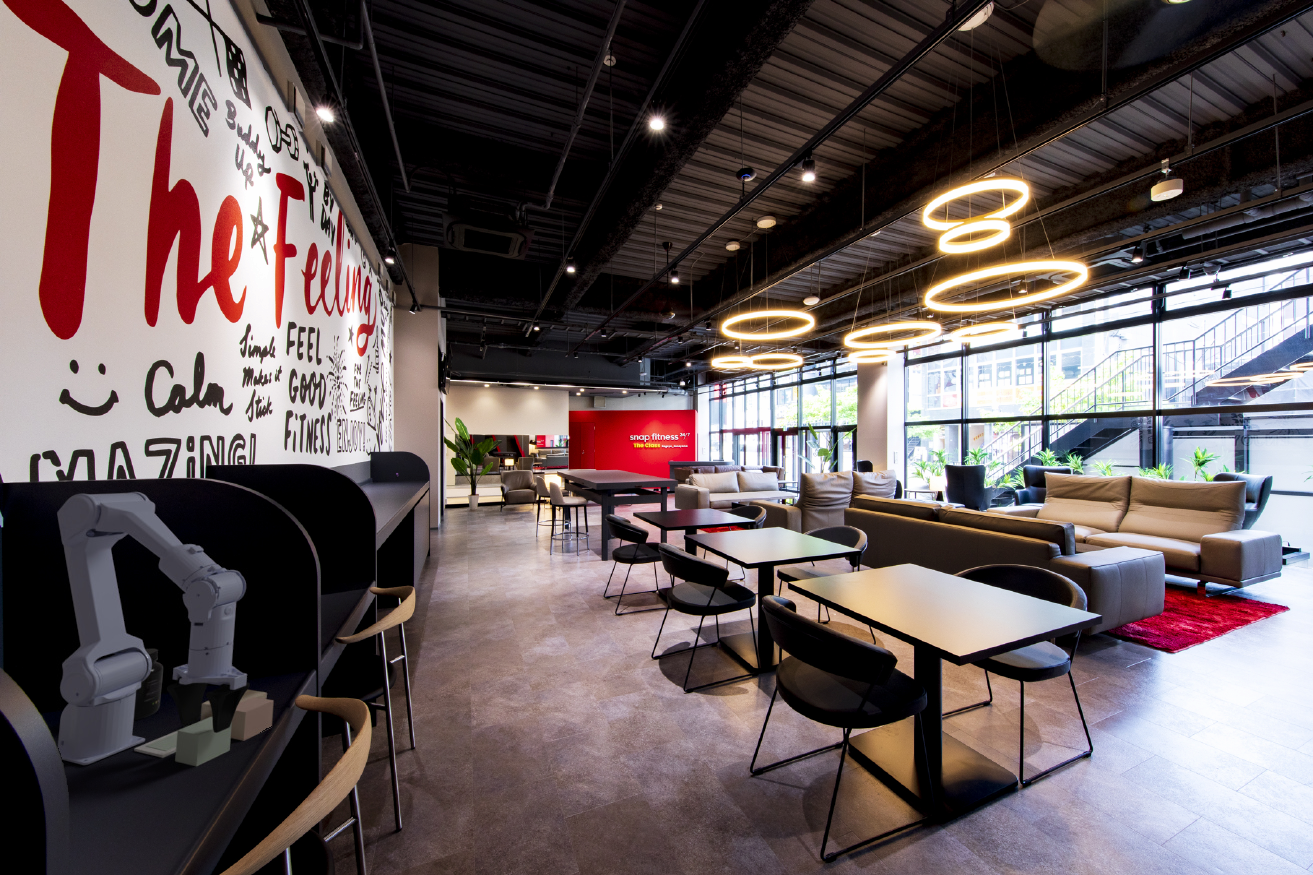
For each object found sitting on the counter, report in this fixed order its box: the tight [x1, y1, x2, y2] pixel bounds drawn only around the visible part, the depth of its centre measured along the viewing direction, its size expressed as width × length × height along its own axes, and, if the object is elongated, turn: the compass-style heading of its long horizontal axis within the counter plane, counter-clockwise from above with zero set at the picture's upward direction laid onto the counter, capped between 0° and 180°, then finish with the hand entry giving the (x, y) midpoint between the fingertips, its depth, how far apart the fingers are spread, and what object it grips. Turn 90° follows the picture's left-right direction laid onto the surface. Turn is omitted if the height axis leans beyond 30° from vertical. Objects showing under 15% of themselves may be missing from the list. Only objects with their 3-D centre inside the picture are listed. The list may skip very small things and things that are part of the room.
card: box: [134, 730, 178, 759], centre depth 89 cm, size 7×7×1 cm
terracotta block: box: [231, 697, 275, 742], centre depth 94 cm, size 5×5×5 cm
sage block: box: [174, 717, 232, 767], centre depth 86 cm, size 5×5×5 cm
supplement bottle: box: [133, 648, 164, 722], centre depth 99 cm, size 7×7×12 cm
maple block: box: [200, 689, 268, 721], centre depth 99 cm, size 7×7×4 cm
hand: (205, 726), depth 86 cm, fingers open, 7 cm apart
